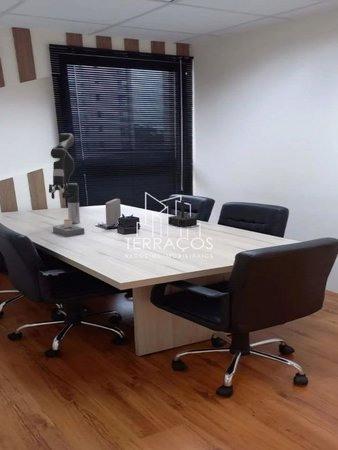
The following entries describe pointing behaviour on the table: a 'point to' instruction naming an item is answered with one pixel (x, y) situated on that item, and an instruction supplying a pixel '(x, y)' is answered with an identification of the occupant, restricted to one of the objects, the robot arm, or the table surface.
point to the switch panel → (68, 230)
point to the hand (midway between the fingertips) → (58, 198)
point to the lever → (67, 223)
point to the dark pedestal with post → (182, 218)
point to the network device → (113, 211)
